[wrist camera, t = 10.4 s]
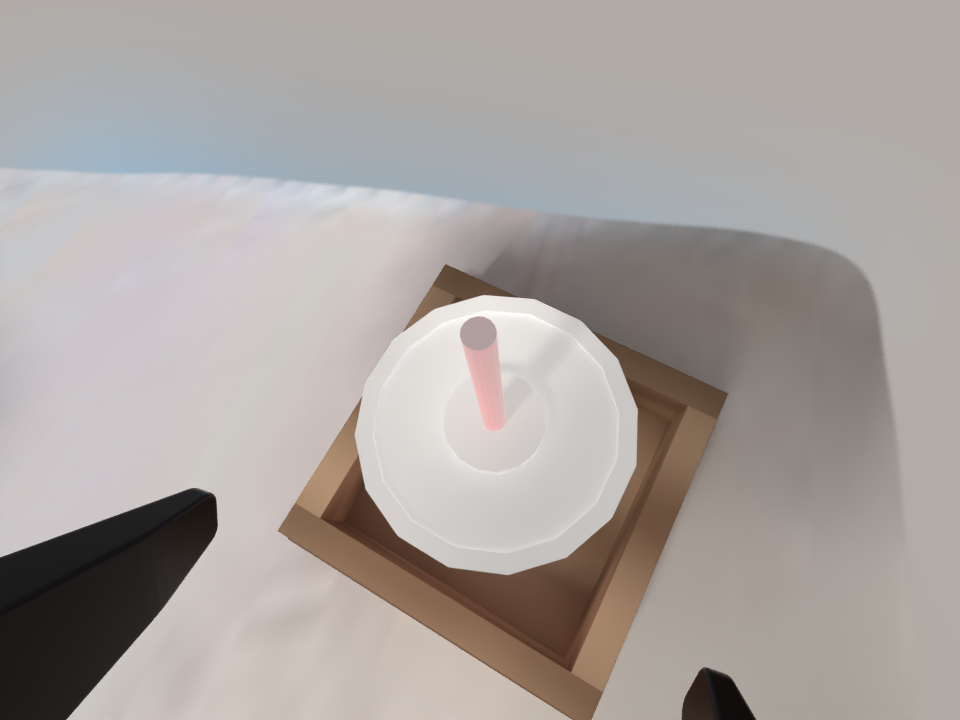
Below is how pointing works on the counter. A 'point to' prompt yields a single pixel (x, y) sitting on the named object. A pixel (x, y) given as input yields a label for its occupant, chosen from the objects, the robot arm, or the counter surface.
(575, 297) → the counter surface
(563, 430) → the beverage cup
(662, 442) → the tray
